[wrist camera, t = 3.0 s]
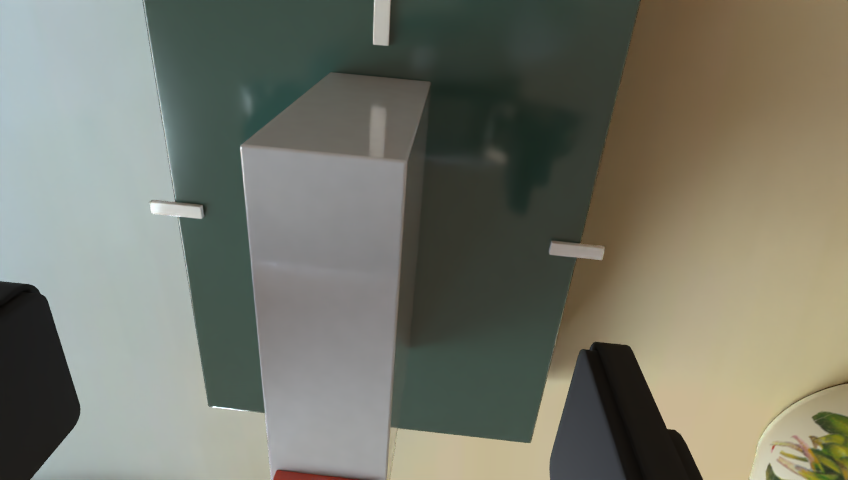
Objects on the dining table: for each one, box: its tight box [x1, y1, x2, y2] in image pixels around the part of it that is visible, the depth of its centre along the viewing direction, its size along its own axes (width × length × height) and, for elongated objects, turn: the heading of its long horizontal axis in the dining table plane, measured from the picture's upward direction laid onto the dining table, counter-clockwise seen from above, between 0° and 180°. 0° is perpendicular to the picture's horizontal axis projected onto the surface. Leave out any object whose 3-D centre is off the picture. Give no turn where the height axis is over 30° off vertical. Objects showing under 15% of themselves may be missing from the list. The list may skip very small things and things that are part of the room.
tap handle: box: [240, 72, 431, 480], centre depth 12 cm, size 8×2×6 cm, turn 176°
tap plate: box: [143, 0, 641, 443], centre depth 15 cm, size 15×12×3 cm
